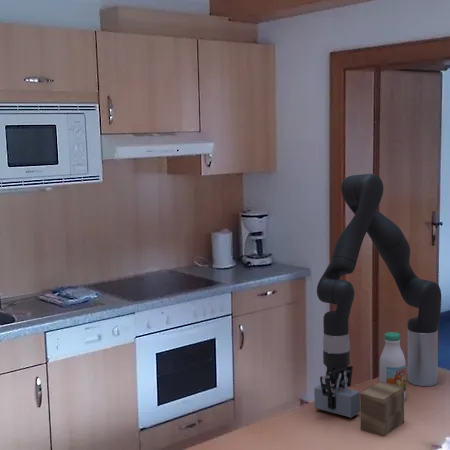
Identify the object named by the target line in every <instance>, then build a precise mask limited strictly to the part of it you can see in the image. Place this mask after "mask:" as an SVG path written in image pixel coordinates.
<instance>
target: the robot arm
mask: <svg viewBox="0 0 450 450" xmlns="http://www.w3.org/2000/svg"><path fill="white" fill-rule="evenodd" d="M340 191H341V196H342V197H343V200H344V202H345V204H346V205H347V206H348V208H349V209H350V210H351V212H352V213H353V217H352V219H351V221H350V222H349V223H348V225H346V227H345V228H344V229H343V230H342V232H341V233H340V235H339V237H338V238H337V240H336V243H335V245H334V249H333V252H332V256H331V259H330V263H329V264H328V265H327V267H326V269H325V271H323V274H322V276H321V278H320V279H319V280H318V283H317V286H316V295H317V298H318V300H319V301H320V302H322V303H325V304H332V305H336V309H335V310H330V311H327V312H325V313H324V315H323V324H322V325H323V326H322V327H323V335H322V359H323V360H322V361H323V365H324V366H325V367H326V372H325V375H324V376H322V375H321V376H320V378H319V381H320V385H321V388H322V394H323V395H324V396H327V397H328V408H329V409H333V410H334V409H336V397H335V395H336V390H337V389H338V387H343V388H347V389H349V387H351V386H352V378H353V370H354V366H352V365H350V364H351V358H350V357H351V352H350V348H351V347H350V346H351V341H350V335H349V333H350V332H349V330H350V329H349V319H350V314H351V309H352V307H353V303H354V298H355V289H354V288H355V287H354V286H353V284H352V282H350V281H349V280H345V279H340V278H341V277H342V276H345V275H350V274H352V273H354V271H355V269H356V265H357V262H358V258H359V254H360V250H361V247H362V244H363V241H364V239H365V236H366V234H367V235H368V236H369V238H370V241H372V243H373V246H374V248H375V249H376V250H377V252H378V255H380V257H381V259H382V260H383V261H384V264H385V265H386V267H387V269H388V271H389V272H390V274H391V276H392V279H393V280H394V282H395V284H396V286H397V288H398V292H399V294H400V296H401V298H402V299H403V301H404V302H405V303H406V304H407V305H408V306H411V307H413V308H416V309H418V311H417V312H418V313H417V316H416V317H412V318H409V319H408V321H407V382H408V383H410V384H411V385H412V386H413V385H415V386H419V387H432V386H435V385H437V384H438V380H439V379H438V377H439V376H438V373H439V372H438V370H439V369H438V366H439V365H438V361H439V360H438V357H439V355H438V352H439V350H438V349H439V347H438V346H439V344H438V343H439V340H438V339H439V332H438V331H439V329H438V328H439V323H440V321H441V313H442V312H441V311H442V291H441V287H440V286H439V284H438V283H437V282H435V281H433V280H427V279H422V278H419V277H418V276H417V275H416V273H415V272H414V270H413V268H412V266H411V264H410V258H411V246H410V244H409V241H408V240H407V238H406V236H405V234H404V233H403V230H402V229H401V228H400V227H399V226H398V225H397V224H396V223H395V222H393V221H392V220H391V219H390V218H388V217H387V216H386V215H384V214H383V213H382V212H381V211H380V210H378V208H379V205H380V203H381V201H382V198H383V194H384V183H383V180H382V179H381V177H380V176H379V175H378V174H374V173H363V174H362V173H361V174H352V175H349V176H346V177H345V178H344V179H343V180H342V182H341V186H340ZM333 385H334V386H333ZM331 388H333V391H331ZM326 390H327V391H326Z"/></svg>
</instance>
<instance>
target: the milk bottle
mask: <svg viewBox="0 0 450 450" xmlns="http://www.w3.org/2000/svg"><path fill="white" fill-rule="evenodd" d="M384 342H385V344H384V347H383V349H382V352H381V354H380V358H379V382H386V383H390V384H394V385H399V386H403V387H404V401H405V399H406V397H407V367H406V366H407V365H406V363H407V361H406V359H405V358H406V356H405V355H404V352H403V350H402V348H401V344H400V343H401V334H400V333H399V332H395V331H389V332H385V333H384Z"/></svg>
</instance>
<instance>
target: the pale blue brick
mask: <svg viewBox="0 0 450 450" xmlns="http://www.w3.org/2000/svg"><path fill="white" fill-rule="evenodd" d="M332 385H333V386H334V385H335V384H332ZM313 388H314V395H313V396H314V408H315V409H318V410H321V411H326V412H329V413H332V414H337V415H341V416H345V417H348V418H353V417H354V416H356V415H357V414H359V413H360V393H361V391H359V390H355V389H351V388H348V389H347V388H343V387H338V389H337V390H336V395H335V397H336V409H334V410H333V409H329V408H328V397H327V396H324V395H323V394H322V388H321V384H319V385H317V386H315V387H313ZM326 391H327V390H326ZM331 391H333V388H331Z"/></svg>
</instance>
